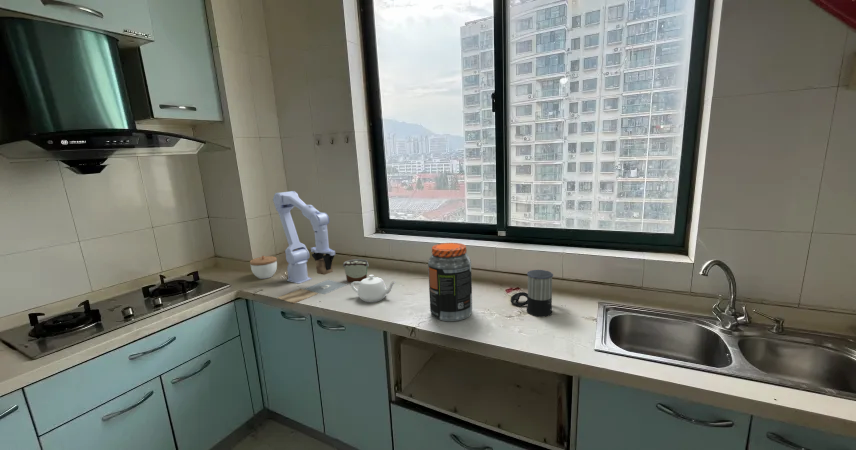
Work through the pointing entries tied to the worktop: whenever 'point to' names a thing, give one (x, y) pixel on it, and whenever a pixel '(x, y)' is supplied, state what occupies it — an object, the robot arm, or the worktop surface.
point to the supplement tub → (450, 282)
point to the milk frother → (537, 293)
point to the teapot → (372, 289)
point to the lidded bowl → (264, 266)
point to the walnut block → (322, 267)
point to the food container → (355, 270)
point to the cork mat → (297, 296)
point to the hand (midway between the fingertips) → (324, 268)
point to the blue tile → (326, 286)
